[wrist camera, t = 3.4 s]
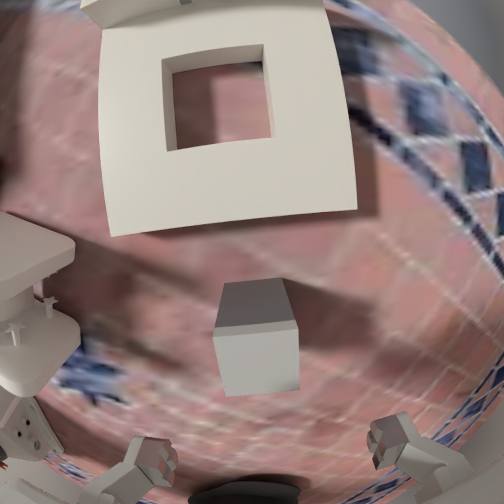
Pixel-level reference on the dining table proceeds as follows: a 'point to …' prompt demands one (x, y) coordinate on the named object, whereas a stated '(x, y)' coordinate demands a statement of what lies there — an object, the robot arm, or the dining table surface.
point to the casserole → (248, 494)
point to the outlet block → (230, 153)
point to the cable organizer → (31, 306)
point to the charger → (256, 339)
